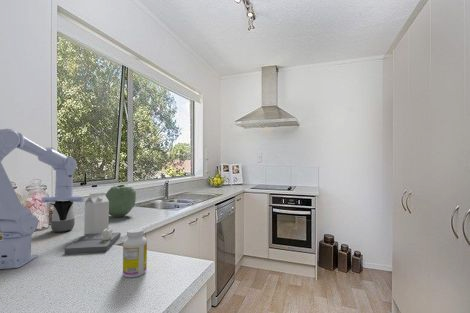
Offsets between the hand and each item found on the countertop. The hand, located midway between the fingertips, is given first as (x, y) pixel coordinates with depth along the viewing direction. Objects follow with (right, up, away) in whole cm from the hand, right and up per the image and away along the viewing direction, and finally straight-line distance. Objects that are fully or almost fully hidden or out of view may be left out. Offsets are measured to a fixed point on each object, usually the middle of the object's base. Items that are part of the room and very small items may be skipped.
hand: (63, 220), depth 95 cm
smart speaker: (-14, -11, +19) cm, 26 cm away
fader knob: (+17, -8, +1) cm, 19 cm away
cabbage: (-2, -12, +50) cm, 52 cm away
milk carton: (+5, -11, +14) cm, 18 cm away
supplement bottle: (+39, -10, -24) cm, 47 cm away
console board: (+13, -10, 0) cm, 16 cm away
